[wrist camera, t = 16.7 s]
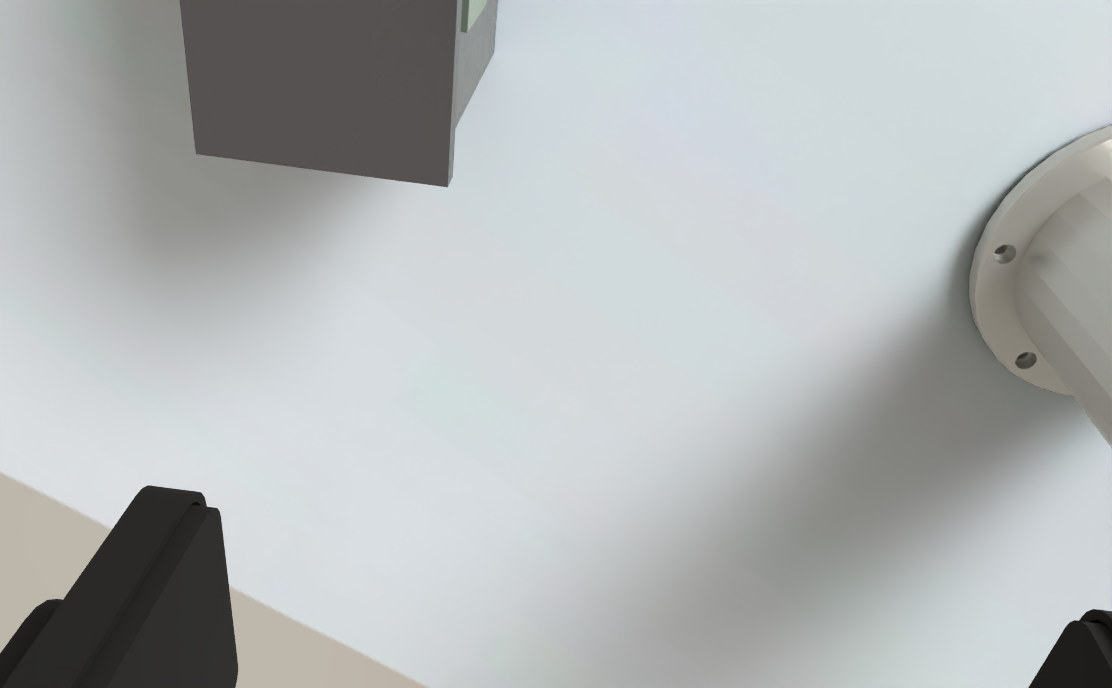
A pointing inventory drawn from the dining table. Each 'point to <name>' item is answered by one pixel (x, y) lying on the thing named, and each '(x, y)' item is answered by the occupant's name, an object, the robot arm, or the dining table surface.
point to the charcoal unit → (336, 81)
